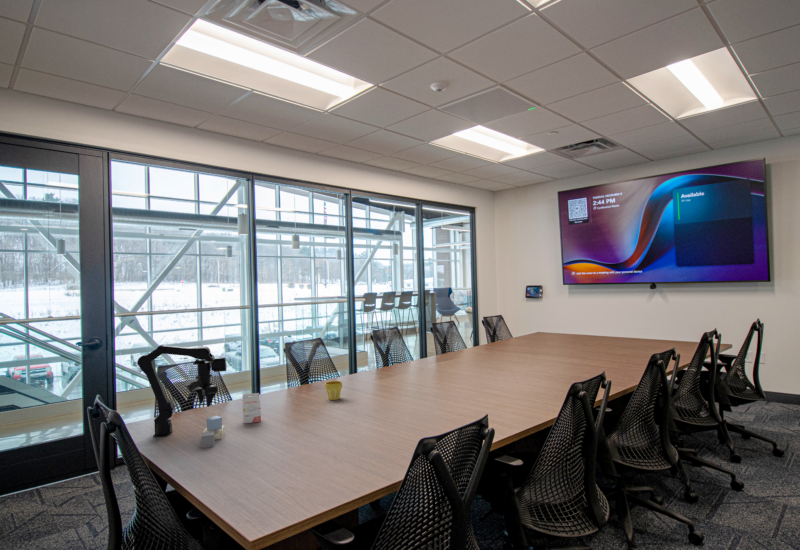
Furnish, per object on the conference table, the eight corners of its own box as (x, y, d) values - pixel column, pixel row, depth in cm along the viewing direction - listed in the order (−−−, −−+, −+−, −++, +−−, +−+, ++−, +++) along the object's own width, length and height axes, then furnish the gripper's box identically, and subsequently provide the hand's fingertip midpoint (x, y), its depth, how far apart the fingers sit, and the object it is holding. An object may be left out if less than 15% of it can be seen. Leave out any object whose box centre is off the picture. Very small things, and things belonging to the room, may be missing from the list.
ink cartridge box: (261, 419, 233) (260, 390, 233) (260, 421, 228) (260, 392, 228) (243, 420, 230) (243, 392, 231) (243, 423, 226) (242, 394, 226)
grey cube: (201, 448, 193) (201, 436, 193) (202, 444, 198) (202, 432, 198) (213, 446, 195) (213, 434, 195) (214, 442, 200) (214, 431, 200)
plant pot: (323, 397, 272) (323, 381, 273) (339, 395, 277) (339, 379, 277) (328, 401, 263) (327, 385, 263) (344, 399, 267) (344, 383, 268)
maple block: (203, 441, 202) (202, 432, 202) (206, 435, 210) (206, 426, 210) (221, 439, 204) (221, 430, 204) (224, 433, 212) (224, 425, 212)
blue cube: (211, 431, 204) (211, 420, 204) (206, 428, 207) (206, 418, 207) (222, 428, 207) (222, 417, 208) (217, 426, 211) (217, 415, 211)
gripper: (179, 373, 219) (180, 405, 219) (193, 378, 206) (194, 412, 205) (203, 369, 227) (203, 400, 227) (218, 374, 214) (218, 407, 213)
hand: (204, 404), depth 218 cm, fingers open, 9 cm apart
